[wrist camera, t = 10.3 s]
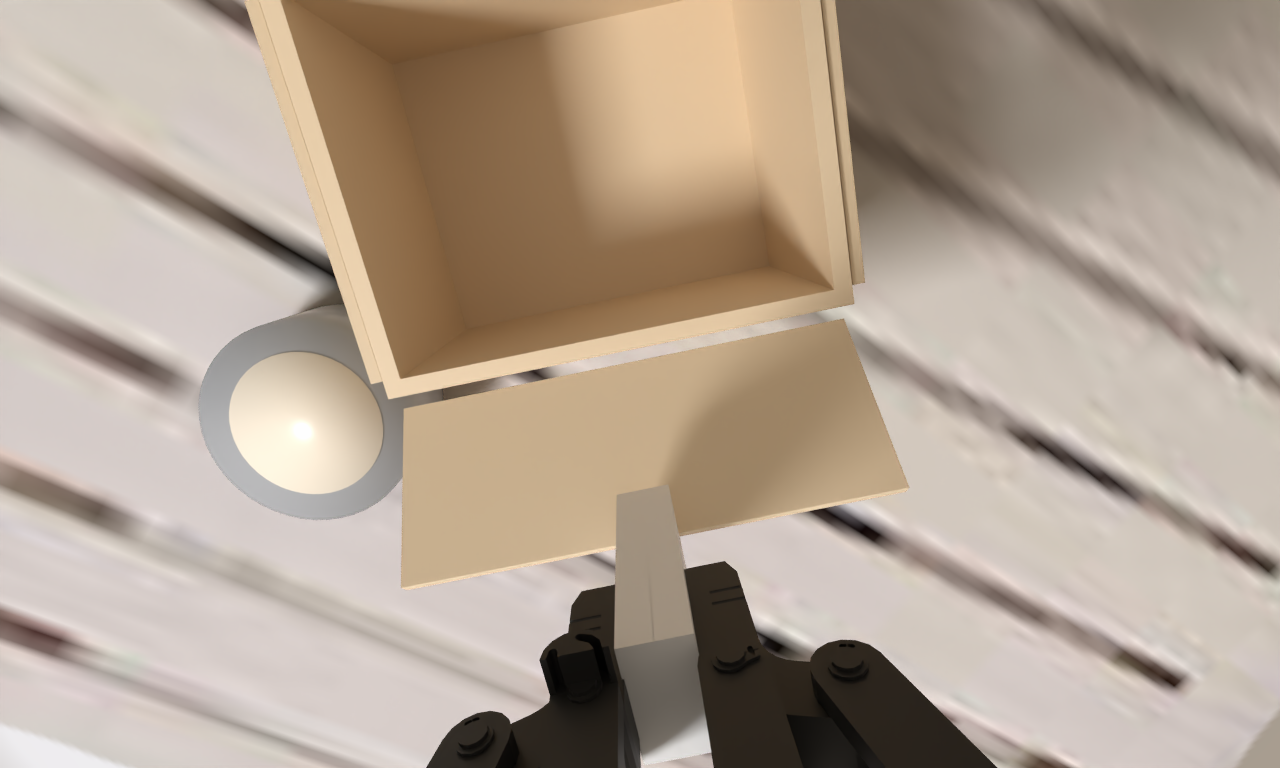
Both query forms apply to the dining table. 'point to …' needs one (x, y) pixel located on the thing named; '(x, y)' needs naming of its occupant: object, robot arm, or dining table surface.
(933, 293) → the dining table surface
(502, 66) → the carton
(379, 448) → the push tap light
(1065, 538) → the dining table surface
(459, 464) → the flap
